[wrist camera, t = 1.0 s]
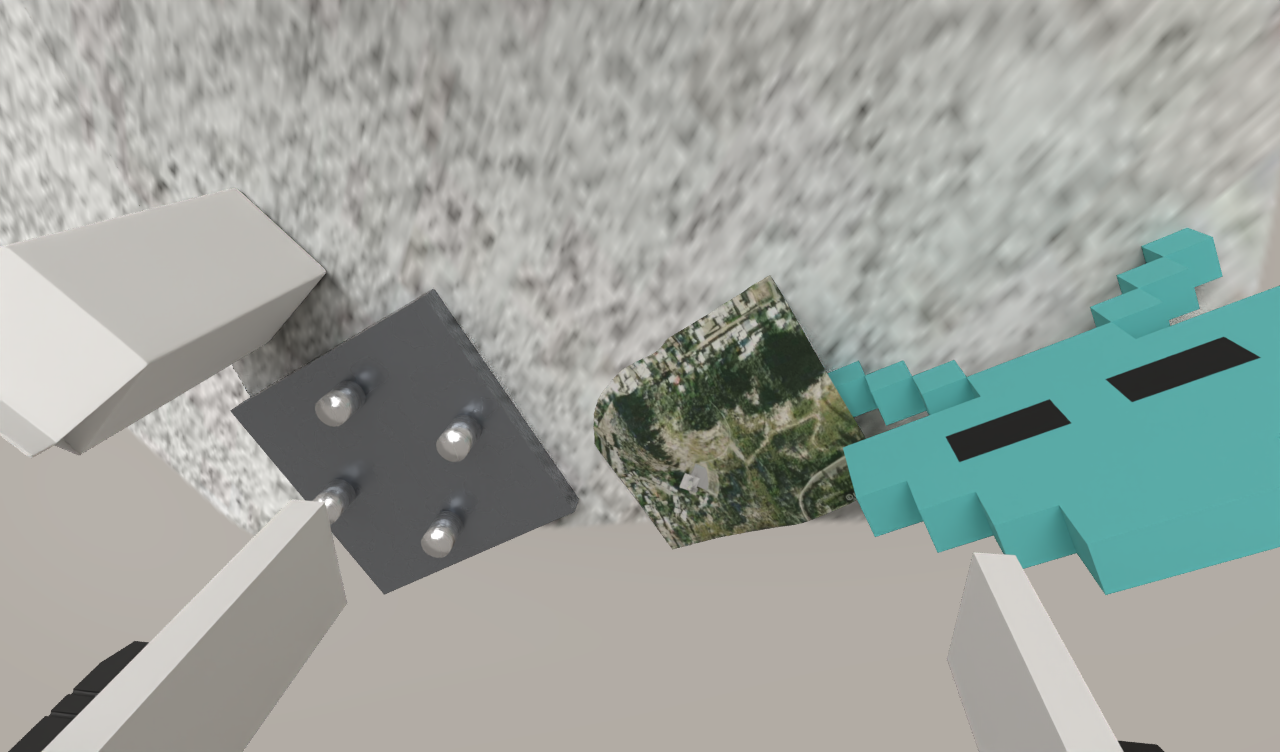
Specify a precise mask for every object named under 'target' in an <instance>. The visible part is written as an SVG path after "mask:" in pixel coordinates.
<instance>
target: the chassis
mask: <svg viewBox="0 0 1280 752" xmlns="http://www.w3.org/2000/svg"><path fill="white" fill-rule="evenodd" d="M231 412H232V413H233V415H234V416H235V417H236V418H237V419H238V421H239V422H240V423H241V424H242V425H243V427H244V428H245V429H246V430H247V431H248V433H249V434H250V435H251V436H252V437H253V438H254V440H255V441H256V442H257V443H258V444H259V446H260V447H261V448H262V449H263V450H264V452H265V453H266V454H267V455H268V456H269V458H270V459H271V460H272V461H273V462H274V464H275V465H276V466H277V467H278V468H279V470H280V471H281V472H282V473H283V474H284V475H285V477H286V478H287V479H288V480H289V481H290V483H291V484H292V485H293V486H294V487H295V489H296V490H297V491H298V492H299V493H300V495H301V496H302V497H303V498H304V499H305V501H317V502H325V505H326V509H327V514H328V518H329V523H330V527H331V532H332V533H333V534H334V535H335V536H336V538H337V539H338V540H339V541H340V542H341V543H342V545H343V546H344V547H345V548H346V549H347V551H348V552H349V553H350V554H351V555H352V557H353V558H354V559H355V560H356V561H357V563H358V564H359V565H360V566H361V567H362V568H363V570H364V571H365V572H366V573H367V575H368V576H369V577H370V578H371V579H372V581H373V582H374V583H375V584H376V585H377V586H378V588H379V589H380V590H381V591H382V592H383V594H387V593H389V592H391V591H394V590H396V589H398V588H400V587H402V586H405V585H407V584H410V583H412V582H414V581H416V580H419V579H421V578H423V577H426V576H428V575H430V574H433V573H434V572H437V571H439V570H442V569H444V568H446V567H449V566H451V565H453V564H455V563H458V562H460V561H462V560H464V559H467V558H469V557H472V556H474V555H476V554H478V553H481V552H483V551H485V550H487V549H490V548H492V547H495V546H497V545H499V544H501V543H504V542H506V541H508V540H511V539H513V538H515V537H517V536H520V535H522V534H524V533H527V532H529V531H531V530H534V529H536V528H538V527H540V526H543V525H545V524H547V523H550V522H552V521H554V520H556V519H559V518H561V517H563V516H566V515H568V514H570V513H573V512H574V511H575V509H576V506H577V503H578V500H579V499H578V497H577V496H576V494H575V493H574V491H573V490H572V488H571V487H570V486H569V484H568V483H567V481H566V480H565V478H564V477H563V475H562V474H561V472H560V471H559V470H558V468H557V467H556V465H555V464H554V462H553V461H552V459H551V458H550V457H549V455H548V454H547V452H546V451H545V449H544V448H543V446H542V445H541V444H540V442H539V441H538V439H537V438H536V436H535V435H534V433H533V432H532V430H531V429H530V428H529V426H528V425H527V423H526V422H525V420H524V419H523V417H522V416H521V415H520V413H519V412H518V410H517V409H516V407H515V406H514V404H513V403H512V401H511V400H510V399H509V397H508V396H507V394H506V393H505V391H504V390H503V388H502V387H501V386H500V384H499V383H498V381H497V380H496V378H495V377H494V375H493V374H492V373H491V371H490V370H489V368H488V367H487V365H486V364H485V362H484V361H483V359H482V358H481V357H480V355H479V354H478V352H477V351H476V349H475V348H474V346H473V345H472V344H471V342H470V341H469V339H468V338H467V336H466V335H465V333H464V332H463V331H462V329H461V328H460V326H459V325H458V323H457V322H456V320H455V319H454V317H453V316H452V315H451V313H450V312H449V310H448V309H447V307H446V306H445V304H444V303H443V302H442V300H441V299H440V297H439V296H438V294H437V293H436V291H435V290H434V289H432V290H431V291H429V292H427V293H425V294H424V295H422V296H420V297H419V298H417V299H415V300H414V301H412V302H410V303H409V304H407V305H405V306H404V307H402V308H400V309H399V310H397V311H395V312H393V313H392V314H390V315H388V316H387V317H385V318H383V319H382V320H380V321H378V322H377V323H375V324H373V325H372V326H370V327H368V328H367V329H365V330H363V331H362V332H360V333H358V334H356V335H355V336H353V337H351V338H350V339H348V340H346V341H345V342H343V343H341V344H340V345H338V346H336V347H335V348H333V349H331V350H330V351H328V352H326V353H324V354H323V355H321V356H319V357H318V358H316V359H314V360H313V361H311V362H309V363H308V364H306V365H304V366H303V367H301V368H299V369H298V370H296V371H294V372H293V373H291V374H289V375H287V376H286V377H284V378H282V379H281V380H279V381H277V382H276V383H274V384H272V385H271V386H269V387H267V388H266V389H264V390H262V391H261V392H259V393H257V394H256V395H254V396H252V397H250V398H249V399H247V400H245V401H244V402H242V403H241V404H239V405H238V406H237V407H235V408H234V409H232V410H231Z"/></svg>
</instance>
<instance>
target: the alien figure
mask: <svg viewBox="0 0 1280 752" xmlns="http://www.w3.org/2000/svg"><path fill="white" fill-rule="evenodd" d="M1141 247H1142V250H1143V254H1144V257H1145V261H1146V264H1144V265H1142V266H1139V267H1137V268H1134V269H1132V270H1129V271H1127V272H1124V273H1122V274H1119V275H1116V276H1117V279H1118V282H1119V286H1120V289H1121V292H1122V295H1120V296H1117V297H1114V298H1112V299H1109V300H1107V301H1104V302H1102V303H1099V304H1096V305H1094V306H1091V307H1090V309H1091V312H1092V315H1093V318H1094V321H1095V324H1096V328H1094V329H1092V330H1089V331H1087V332H1084V333H1081V334H1079V335H1076V336H1073V337H1071V338H1068V339H1066V340H1063V341H1060V342H1058V343H1055V344H1052V345H1050V346H1047V347H1045V348H1042V349H1039V350H1037V351H1034V352H1031V353H1029V354H1026V355H1024V356H1021V357H1018V358H1016V359H1013V360H1010V361H1008V362H1005V363H1003V364H1000V365H997V366H995V367H992V368H989V369H987V370H984V371H982V372H979V373H976V374H974V375H971V376H968V377H966V376H965V374H964V373H963V371H962V370H961V369H960V367H959V366H958V365H957V363H956V362H955V360H953V361H950V362H948V363H945V364H942V365H940V366H937V367H935V368H932V369H930V370H927V371H925V372H922V373H919V374H917V375H914V376H912V375H911V374H910V372H909V370H908V368H907V366H906V364H905V363H904V361H900V362H898V363H895V364H893V365H890V366H888V367H885V368H883V369H880V370H878V371H875V372H873V373H870V374H868V375H865V374H864V372H863V369H862V367H861V365H860V363H859V361H857V362H855V363H852V364H850V365H847V366H845V367H842V368H840V369H837V370H835V371H832V372H830V373H827V374H828V376H829V378H830V379H831V381H832V383H833V384H834V386H835V388H836V389H837V391H838V393H839V394H840V396H841V398H842V399H843V401H844V403H845V404H846V406H847V408H848V409H849V411H850V413H851V414H852V416H853V417H856V416H858V415H861V414H864V413H866V412H869V411H872V410H874V409H877V408H879V411H880V413H881V415H882V417H883V420H884V422H885V424H886V426H887V425H889V424H892V423H895V422H897V421H900V420H903V419H905V418H908V417H911V416H913V415H916V414H919V413H921V412H924V411H927V413H928V414H929V416H927V417H924V418H921V419H919V420H916V421H913V422H910V423H908V424H905V425H902V426H900V427H897V428H894V429H892V430H889V431H886V432H883V433H881V434H878V435H875V436H873V437H870V438H867V439H865V440H862V441H859V442H856V443H854V444H851V445H848V446H846V447H843V450H844V454H845V458H846V461H847V465H848V469H849V472H850V476H851V480H852V484H853V487H854V491H855V495H856V498H857V500H858V502H859V504H860V507H861V509H862V511H863V513H864V515H865V517H866V519H867V521H868V523H869V525H870V527H871V529H872V532H873V533H874V536H875V537H876V536H880V535H883V534H886V533H889V532H891V531H894V530H898V529H901V528H904V527H907V526H910V525H913V524H916V523H919V522H922V521H924V523H925V525H926V528H927V530H928V532H929V534H930V536H931V539H932V541H933V543H934V545H935V548H936V550H937V552H938V553H939V552H942V551H945V550H948V549H952V548H955V547H957V546H961V545H964V544H967V543H971V542H974V541H977V540H980V539H983V538H987V537H990V536H993V535H994V537H995V539H996V541H997V542H998V544H999V546H1000V548H1001V550H1002V552H1003V554H1005V555H1016V557H1017V559H1018V561H1019V563H1020V564H1021V566H1022V568H1023V569H1024V568H1028V567H1031V566H1034V565H1038V564H1041V563H1044V562H1048V561H1051V560H1055V559H1058V558H1061V557H1065V556H1068V555H1072V554H1075V553H1077V554H1078V556H1079V557H1080V558H1081V560H1082V561H1083V563H1084V564H1085V566H1086V567H1087V568H1088V570H1089V571H1090V573H1091V574H1092V576H1093V577H1094V579H1095V580H1096V582H1097V583H1098V585H1099V586H1100V588H1101V589H1102V590H1103V592H1104V593H1105V595H1108V594H1111V593H1115V592H1118V591H1122V590H1126V589H1129V588H1133V587H1137V586H1140V585H1144V584H1147V583H1151V582H1155V581H1158V580H1162V579H1166V578H1169V577H1173V576H1176V575H1180V574H1184V573H1187V572H1191V571H1195V570H1198V569H1201V568H1205V567H1209V566H1213V565H1216V564H1219V563H1223V562H1227V561H1231V560H1234V559H1238V558H1242V557H1245V556H1249V555H1252V554H1256V553H1259V552H1263V551H1267V550H1270V549H1274V548H1277V547H1280V286H1277V287H1275V288H1272V289H1269V290H1267V291H1264V292H1261V293H1258V294H1256V295H1253V296H1250V297H1248V298H1245V299H1242V300H1240V301H1237V302H1234V303H1231V304H1229V305H1226V306H1223V307H1221V308H1218V309H1215V310H1213V311H1210V312H1207V313H1204V314H1202V315H1199V316H1196V317H1194V318H1191V319H1188V320H1186V321H1183V322H1180V323H1177V324H1175V325H1172V326H1170V323H1169V320H1171V319H1173V318H1176V317H1179V316H1181V315H1184V314H1187V313H1189V312H1192V311H1195V310H1197V309H1200V308H1199V304H1198V300H1197V296H1196V292H1195V289H1194V287H1196V286H1199V285H1202V284H1204V283H1207V282H1209V281H1212V280H1215V279H1217V278H1220V277H1222V272H1221V268H1220V264H1219V260H1218V256H1217V252H1216V248H1215V244H1214V240H1213V237H1211V236H1208V235H1206V234H1203V233H1200V232H1197V231H1195V230H1192V229H1189V228H1186V229H1183V230H1181V231H1178V232H1176V233H1173V234H1171V235H1168V236H1166V237H1163V238H1161V239H1158V240H1156V241H1153V242H1151V243H1148V244H1146V245H1144V246H1141Z"/></svg>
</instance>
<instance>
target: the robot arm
mask: <svg viewBox="0 0 1280 752" xmlns="http://www.w3.org/2000/svg"><path fill="white" fill-rule="evenodd" d="M346 604H347V600H346V595H345V591H344V586H343V582H342V577H341V573H340V569H339V564H338V559H337V555H336V550H335V546H334V541H333V536H332V532H331V527H330V523H329V518H328V514H327V509H326V505H325V502H317V501H304V500H290V501H289V502H288V503H287V504H286V505H285V506H284V507H283V508H282V509H281V510H280V511H279V512H278V513H277V514H276V515H275V516H274V517H273V518H272V519H271V520H270V521H269V522H268V523H267V524H266V525H265V526H264V527H263V528H262V529H261V530H260V531H259V532H258V533H257V534H256V535H255V536H254V537H253V538H252V539H251V540H250V541H249V542H248V543H247V544H246V546H244V548H242V549H241V550H240V551H239V553H238V554H237V555H236V556H235V557H234V558H233V559H232V560H231V561H230V562H229V563H228V564H227V565H226V566H225V567H224V568H223V569H222V570H221V571H220V572H219V573H218V574H217V575H216V576H215V577H214V578H213V579H212V580H211V581H210V582H209V583H208V584H207V585H206V586H205V587H204V588H203V589H202V590H201V591H200V592H199V593H198V594H197V595H196V596H195V597H194V598H193V599H192V600H191V601H190V602H189V603H188V604H187V605H186V606H185V607H184V608H183V609H182V610H181V611H180V612H179V613H178V614H177V615H176V616H175V617H174V618H173V619H172V620H171V621H170V622H169V623H168V624H167V626H165V627H164V628H163V629H162V630H161V632H159V633H158V635H156V636H155V637H154V638H153V639H152V640H151V642H149V643H148V642H138V641H134V642H133V643H131V644H129V645H128V646H126V647H125V648H123V649H121V650H120V651H118V652H117V653H115V654H114V655H112V656H110V657H109V658H107V659H106V660H104V661H102V662H101V663H100V664H99V665H98V666H97V667H96V668H95V669H94V670H93V671H91V672H90V674H88V675H87V676H86V677H85V678H84V679H83V680H82V681H81V682H80V683H79V684H78V685H77V686H76V687H75V688H74V689H73V693H72V694H68V695H67V696H65V697H64V698H63V700H61V701H60V702H59V703H58V704H57V705H56V706H55V707H54V708H53V709H52V710H51V714H50V715H49V716H45V717H44V718H43V719H42V720H41V721H40V722H39V723H38V724H36V726H34V727H33V728H32V729H31V730H30V731H29V732H28V733H27V734H26V735H25V736H24V737H23V738H22V739H21V740H20V741H19V742H18V743H17V744H16V745H15V746H14V747H13V748H12V749H11V750H10V751H8V752H243V751H244V749H245V748H246V746H247V745H248V743H249V742H250V741H251V739H252V738H253V736H254V735H255V734H256V732H257V731H258V729H259V728H260V726H261V725H262V723H263V722H264V721H265V719H266V718H267V716H268V715H269V713H270V712H271V711H272V709H273V708H274V707H275V705H276V704H277V702H278V701H279V699H280V698H281V697H282V695H283V693H284V692H285V691H286V689H287V688H288V687H289V685H290V684H291V682H292V681H293V679H294V678H295V677H296V675H297V674H298V672H299V671H300V669H301V668H302V667H303V665H304V664H305V662H306V661H307V660H308V658H309V657H310V655H311V654H312V652H313V651H314V650H315V648H316V647H317V645H318V644H319V642H320V641H321V640H322V638H323V637H324V635H325V634H326V633H327V631H328V629H329V628H330V627H331V625H332V624H333V623H334V621H335V620H336V618H337V617H338V615H339V614H340V613H341V611H342V610H343V608H344V607H345V606H346ZM947 661H948V664H949V666H950V669H951V672H952V675H953V678H954V681H955V684H956V687H957V690H958V693H959V695H960V698H961V701H962V704H963V707H964V710H965V713H966V716H967V719H968V721H969V725H970V727H971V730H972V733H973V736H974V739H975V742H976V745H977V748H978V751H979V752H1164V751H1163V750H1162V749H1161V748H1160V747H1159V746H1158V745H1155V744H1145V743H1135V742H1126V741H1117V739H1116V737H1115V735H1114V734H1113V732H1112V730H1111V728H1110V726H1109V724H1108V723H1107V721H1106V719H1105V717H1104V716H1103V714H1102V712H1101V710H1100V708H1099V706H1098V704H1097V703H1096V701H1095V699H1094V697H1093V695H1092V694H1091V692H1090V690H1089V688H1088V686H1087V685H1086V683H1085V681H1084V679H1083V677H1082V676H1081V674H1080V672H1079V670H1078V668H1077V666H1076V664H1075V663H1074V661H1073V659H1072V657H1071V655H1070V654H1069V652H1068V650H1067V648H1066V646H1065V645H1064V643H1063V641H1062V639H1061V637H1060V636H1059V634H1058V632H1057V630H1056V628H1055V626H1054V624H1053V623H1052V621H1051V619H1050V617H1049V615H1048V614H1047V612H1046V610H1045V608H1044V606H1043V604H1042V603H1041V601H1040V599H1039V597H1038V595H1037V594H1036V592H1035V590H1034V588H1033V586H1032V584H1031V583H1030V581H1029V579H1028V577H1027V575H1026V574H1025V572H1024V570H1023V568H1022V566H1021V564H1020V563H1019V561H1018V559H1017V557H1016V555H1005V554H992V553H979V552H973V556H972V559H971V564H970V567H969V572H968V576H967V580H966V584H965V588H964V592H963V596H962V600H961V604H960V608H959V612H958V616H957V620H956V624H955V628H954V633H953V637H952V641H951V645H950V649H949V653H948V657H947Z"/></svg>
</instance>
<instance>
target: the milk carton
mask: <svg viewBox="0 0 1280 752" xmlns="http://www.w3.org/2000/svg"><path fill="white" fill-rule="evenodd" d="M325 274H326V270H325V269H324V268H323V267H322V266H321V265H320V264H319V263H318V262H317V261H316V260H315V259H313V258H312V257H311V256H310V255H309V254H308V253H307V252H306V251H305V250H304V249H303V248H301V247H300V246H299V245H298V244H297V243H296V242H295V241H294V240H293V239H292V238H290V237H289V236H288V235H287V234H286V233H285V232H284V231H283V230H282V229H281V228H280V227H278V226H277V225H276V224H275V223H274V222H273V221H272V220H271V219H270V218H269V217H268V216H266V215H265V214H264V213H263V212H262V211H261V210H260V209H259V208H258V207H257V206H255V205H254V204H253V203H252V202H251V201H250V200H249V199H248V198H247V197H246V196H245V195H243V194H242V193H241V192H240V191H239V190H237V189H236V188H231V189H227V190H223V191H219V192H215V193H211V194H207V195H203V196H199V197H195V198H191V199H187V200H183V201H179V202H175V203H171V204H167V205H163V206H159V207H155V208H151V209H147V210H143V211H139V212H135V213H131V214H128V215H124V216H120V217H116V218H112V219H108V220H104V221H100V222H96V223H92V224H88V225H84V226H80V227H76V228H72V229H68V230H64V231H60V232H56V233H52V234H48V235H44V236H40V237H36V238H32V239H28V240H24V241H20V242H16V243H12V244H9V245H2V246H1V247H0V436H1V437H3V438H4V439H5V440H7V441H8V442H9V443H11V444H12V445H13V446H15V447H16V448H17V449H19V450H20V451H21V452H22V453H24V454H25V455H26V456H28V457H34V456H36V455H38V454H40V453H41V452H43V451H45V450H47V449H49V448H50V447H52V446H54V445H55V446H57V447H60V448H62V449H65V450H67V451H69V452H72V453H74V454H77V455H81V454H82V453H84V452H86V451H87V450H89V449H91V448H93V447H94V446H96V445H97V444H99V443H101V442H103V441H104V440H106V439H107V438H109V437H111V436H113V435H114V434H116V433H118V432H119V431H121V430H123V429H124V428H126V427H128V426H129V425H131V424H133V423H134V422H136V421H138V420H139V419H141V418H143V417H144V416H146V415H148V414H149V413H151V412H153V411H154V410H156V409H158V408H159V407H161V406H163V405H164V404H166V403H168V402H169V401H171V400H173V399H174V398H176V397H178V396H179V395H181V394H183V393H184V392H186V391H188V390H189V389H191V388H193V387H194V386H196V385H198V384H199V383H201V382H203V381H204V380H206V379H208V378H209V377H211V376H213V375H214V374H216V373H218V372H219V371H221V370H223V369H224V368H226V367H228V366H230V365H231V364H233V363H235V362H236V361H238V360H240V359H241V358H243V357H245V356H246V355H248V354H250V353H251V352H253V351H255V350H256V349H258V348H260V347H261V346H263V345H265V344H266V343H268V342H269V341H270V340H271V338H272V337H273V336H274V335H275V334H276V332H277V331H278V330H279V329H280V328H281V326H282V325H283V324H284V323H285V322H286V320H287V319H288V318H289V317H290V316H291V314H292V313H293V312H294V311H295V310H296V308H297V307H298V306H299V305H300V304H301V302H302V301H303V300H304V299H305V298H306V296H307V295H308V294H309V293H310V292H311V290H312V289H313V288H314V287H315V286H316V284H317V283H318V282H319V281H320V280H321V278H322V277H323V276H324V275H325Z"/></svg>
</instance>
